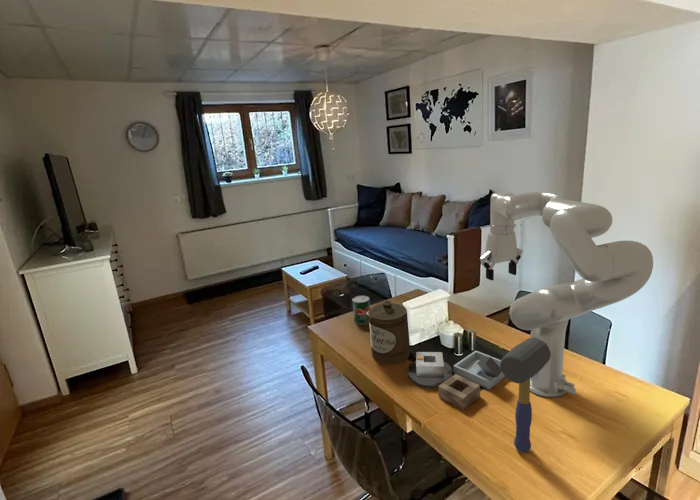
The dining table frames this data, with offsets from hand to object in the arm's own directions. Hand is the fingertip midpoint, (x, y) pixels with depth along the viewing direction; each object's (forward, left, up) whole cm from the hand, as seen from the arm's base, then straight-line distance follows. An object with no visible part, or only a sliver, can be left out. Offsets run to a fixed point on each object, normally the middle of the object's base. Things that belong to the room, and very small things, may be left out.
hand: (501, 276), depth 136 cm
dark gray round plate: (+10, +28, -30) cm, 42 cm away
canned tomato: (+60, +15, -31) cm, 69 cm away
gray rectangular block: (-1, +16, -28) cm, 32 cm away
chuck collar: (+10, +28, -28) cm, 41 cm away
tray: (-2, +15, -30) cm, 34 cm away
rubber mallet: (-28, +38, -31) cm, 56 cm away
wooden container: (+30, +27, -31) cm, 51 cm away
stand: (-4, +31, -30) cm, 44 cm away
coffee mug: (+46, +18, -31) cm, 58 cm away
